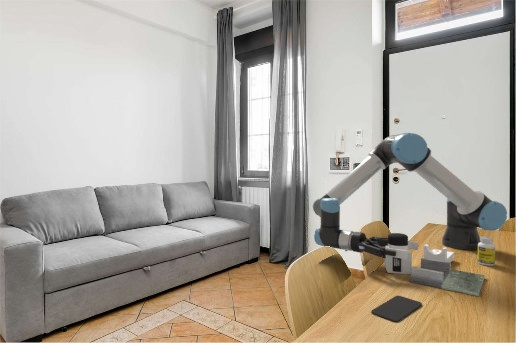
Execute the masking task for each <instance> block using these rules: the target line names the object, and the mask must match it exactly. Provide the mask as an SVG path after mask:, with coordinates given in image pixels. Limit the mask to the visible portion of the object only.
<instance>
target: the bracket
mask: <svg viewBox="0 0 516 343" xmlns="http://www.w3.org/2000/svg"><path fill="white" fill-rule="evenodd" d="M423 258H427V259H434V260H440V261H446V262H451V263H452V262H453V261H454V260H455V252H453V251H449V250H448V246H446V247H445V246H443V248H442V249H436V248H434V249H431V248H430V245H429V243H428V244H427V243H426V244H424V245H423Z"/></svg>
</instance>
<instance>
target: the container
mask: <svg viewBox="0 0 516 343" xmlns="http://www.w3.org/2000/svg"><path fill="white" fill-rule="evenodd" d="M387 238H388V246H385V247H384V248H393V249H400V250H406V251H407V259H401V258H396V257H390V256H386V258H384V266H385V269H386V272H387V273H388V274H397V275H398V274H399V275H411V268H412V267H413V266H412V263H413V262H412V261H413V260H412V258H413V257H412V251H411V249H409V248H408V241H409V236H408V235H407V234H405V233H402V232H391V233H389V234H388V235H387Z"/></svg>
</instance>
